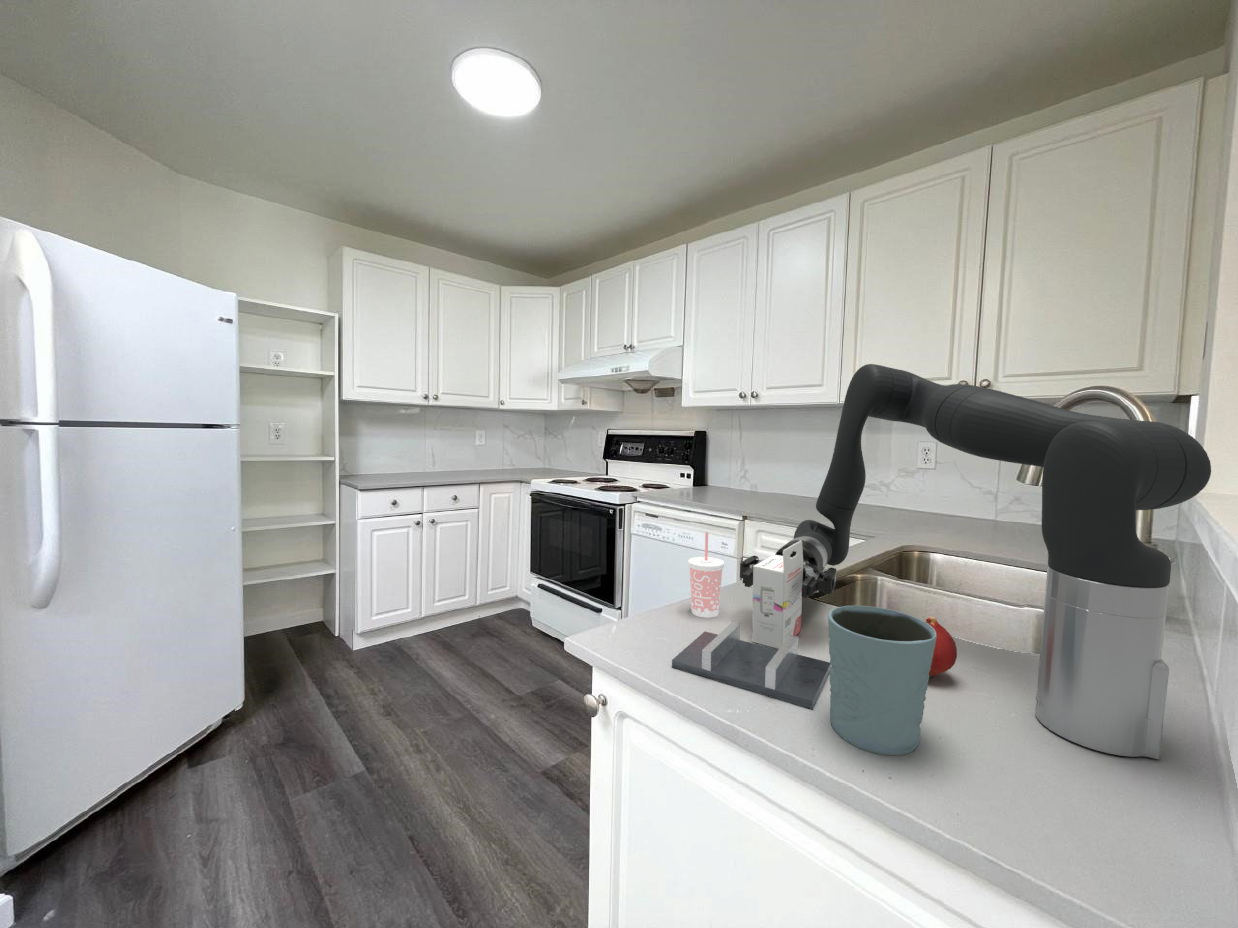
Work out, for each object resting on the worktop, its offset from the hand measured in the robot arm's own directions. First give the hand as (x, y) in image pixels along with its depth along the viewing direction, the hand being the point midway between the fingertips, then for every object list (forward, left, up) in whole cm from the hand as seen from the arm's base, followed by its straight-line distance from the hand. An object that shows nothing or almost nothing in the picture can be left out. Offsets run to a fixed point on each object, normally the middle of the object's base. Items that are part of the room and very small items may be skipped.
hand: (774, 585), depth 76 cm
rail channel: (0, +10, -9) cm, 13 cm away
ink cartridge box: (0, -2, -9) cm, 9 cm away
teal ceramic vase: (-15, +16, -9) cm, 24 cm away
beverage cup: (+13, -5, -9) cm, 16 cm away
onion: (-20, -1, -9) cm, 22 cm away
